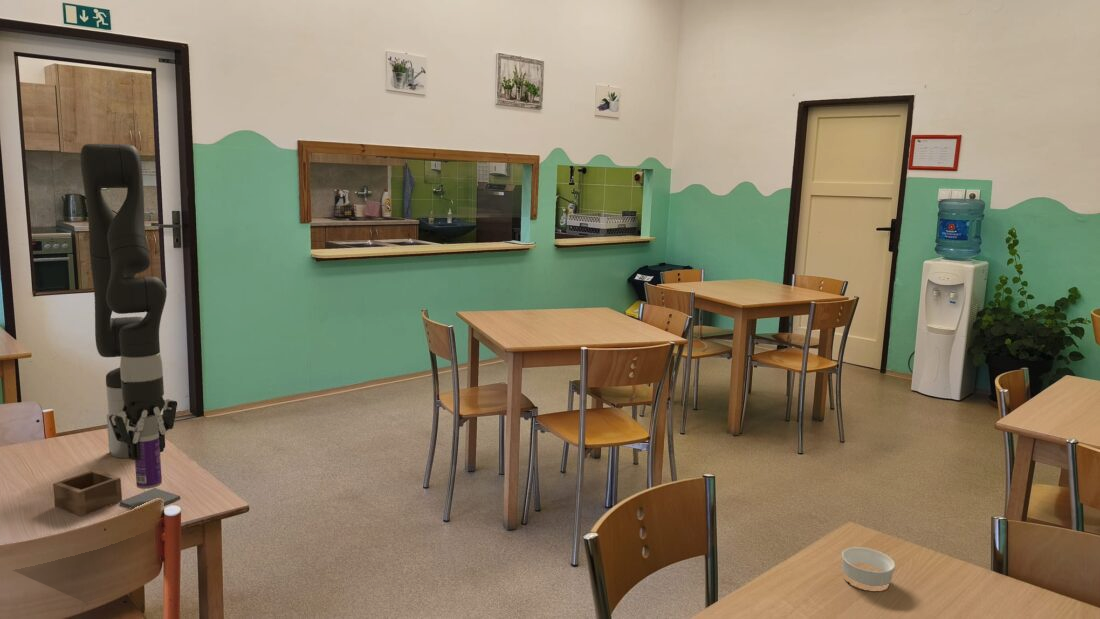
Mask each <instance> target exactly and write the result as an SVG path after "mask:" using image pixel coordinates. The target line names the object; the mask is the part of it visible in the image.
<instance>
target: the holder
mask: <svg viewBox="0 0 1100 619" xmlns="http://www.w3.org/2000/svg"><path fill="white" fill-rule="evenodd" d="M52 486H53V487H52V489H53V500H54V501H53V502H54V507H55V508H57V509H59V510H60V509H61V510H62V511H64V512H65V511H66V512H68V513H71V514H73V515H77V516H79V517H83V516H85V515H89V514H91V513H93V511H94V512H97V511H99V510H101V509H105V508H106V506H107V507H109V506H112V505H114V503H115V504H117V503H120V501H122V500H123V497H122V496H123V495H122V493H123V492H122V480H121V477H119V476H116V475H113V474H110V473H105V472H102V471H100V470H96V469H93V470H89V471H86V472H84V473H83V472H82V473H81V474H77V475H75V476H71V477H69V478H66V479H63V480H60V481H59V480H58V481H57V482H56V481H55V482H53V483H52ZM111 504H112V505H111ZM90 512H91V513H90ZM88 513H89V514H88Z"/></svg>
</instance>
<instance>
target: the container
mask: <svg viewBox="0 0 1100 619" xmlns="http://www.w3.org/2000/svg"><path fill="white" fill-rule="evenodd" d="M136 426H137V425H135V424H133V427H136ZM138 442H139V444H140V460H137V461H135V460H134V467H135V484H136V487H137V488H139V489H142V490H146V489H148V490H149V489H153V488H156V487H159V486H160V485H162V482H163V480H162V478H163V476H162V462H161V459H162V458H161V452H160V441H159V429H158V421H157V415H149V416H147V417H146V418H144V426H143V430H142V432H140V436H139V440H138Z"/></svg>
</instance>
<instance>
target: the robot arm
mask: <svg viewBox="0 0 1100 619" xmlns="http://www.w3.org/2000/svg"><path fill="white" fill-rule="evenodd" d="M80 168H81V176H82V183H83V190H84V191H83V192H84V196H85V204H86V211H87V220H88V222H87V223H88V241H89V243H88V244H89V246H88V247H89V258H90V268H91V269H90V270H91V277H92V283H93V284H92V286H93V294H94V334H95V335H94V336H95V346H96V349H97V352H98V355H99V356H101V357H102V358H118V357H120V361H119V362H120V363H119V367H117V368H115V369H113V370H112V369H111V370H110V371H108V372H107V374H106V375H105V385H106V386H105V387H106V399H107V411H108V412H107V415H106V423H107V437H108V449H109V450H108V452H110V454H111V456H112V457H114V458H119V459H130V460H133V461H134V462H135V461H137V460H140V444H139V442H138V440H139V436H140V432H142V430H143V426H144V418H146V417H147V416H149V415H157V421H158V429H159V441H160V453H163V452H164V450H165V448H166V435H165V434H167V431H169V430H172V429H174V426H175V420H176V419H175V418H176V412H177V409H178V401H176V400H173V399H168V398H167V399H166V400H165V399H164V397H163V396H164V395H165V389H164V388H165V387H164V373H163V372H164V371H163V361H162V356H161V347H160V346H161V345H160V344H161V343H160V326H161V321H162V320H161V319H162V316H163V312H164V308H165V306H166V305H165V304H166V301H167V287H166V284H165V283H164V282H163V280H162V279H160V278H159V277H157V276H143V277H142V276H141V277H136V275H137V274H140V273H144V272H145V271H147V270H148V269H149V268H150V265H151V255H150V250H149V244H148V240H147V239H148V238H147V235H146V227H145V226H146V225H145V223H146V222H145V194H144V193H145V192H144V176H143V166H142V160H141V156H140V153H139V151H138V148H136V147H135V146H134V145H131V144H125V143H122V144H121V143H118V144H117V143H87V144H84V145H83V146H82V147H81V151H80ZM102 189H126V191H127V193H126V197H125V200H124V201H123V203H122V205H121V206H120V208H119V210H118V211H117V213H116V214H115V213H114V212H113V210H112V209H111V207H110V206H109V205H108V203H107V201H106V200H105V198H104V196H103V193H102ZM113 313H115V314H117V315H118V314H119V315H123V314H125V315H127V314H138V313H146V314H145V316H144V317H142V316H128V317H127V316H125V317H122V316H121V317H112V314H113ZM161 413H162V415H161ZM133 424H135V425H137V426H136V427H133Z"/></svg>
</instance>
